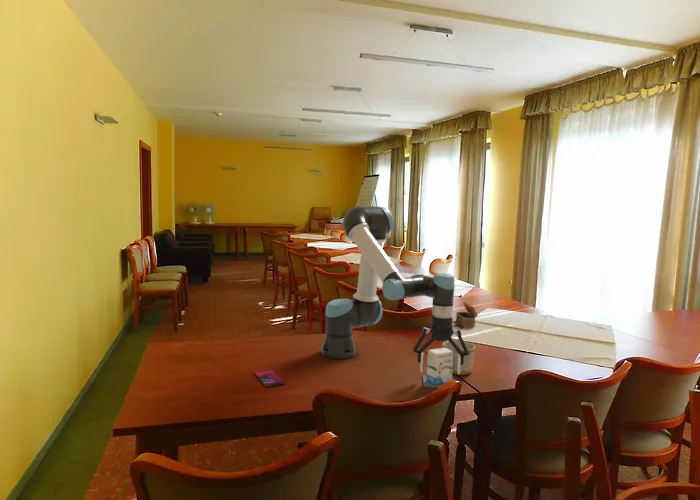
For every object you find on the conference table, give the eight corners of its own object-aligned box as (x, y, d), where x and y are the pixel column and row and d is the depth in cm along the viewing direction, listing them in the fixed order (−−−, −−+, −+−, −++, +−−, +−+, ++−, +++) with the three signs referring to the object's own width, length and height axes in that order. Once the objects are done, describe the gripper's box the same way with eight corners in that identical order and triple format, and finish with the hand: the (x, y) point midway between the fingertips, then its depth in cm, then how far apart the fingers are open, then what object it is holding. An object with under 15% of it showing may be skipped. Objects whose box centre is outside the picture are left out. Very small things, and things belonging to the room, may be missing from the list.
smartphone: (273, 369, 181) (286, 383, 168) (273, 371, 181) (286, 385, 168) (253, 372, 178) (265, 386, 165) (253, 374, 178) (265, 389, 165)
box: (433, 318, 269) (434, 298, 268) (479, 317, 272) (480, 298, 271) (448, 331, 242) (449, 309, 240) (500, 331, 245) (501, 309, 243)
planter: (439, 364, 192) (440, 339, 191) (469, 365, 192) (471, 340, 191) (444, 375, 180) (445, 349, 179) (477, 377, 179) (478, 350, 178)
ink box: (434, 385, 169) (435, 354, 168) (426, 380, 173) (427, 350, 172) (452, 381, 173) (454, 350, 172) (444, 376, 177) (445, 347, 176)
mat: (423, 386, 169) (423, 385, 169) (422, 376, 179) (422, 374, 179) (457, 389, 167) (457, 387, 167) (454, 378, 177) (454, 377, 177)
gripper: (408, 316, 168) (406, 373, 170) (478, 320, 165) (475, 377, 167) (408, 311, 176) (406, 365, 178) (475, 315, 172) (472, 370, 175)
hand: (439, 371), depth 173 cm, fingers open, 13 cm apart
